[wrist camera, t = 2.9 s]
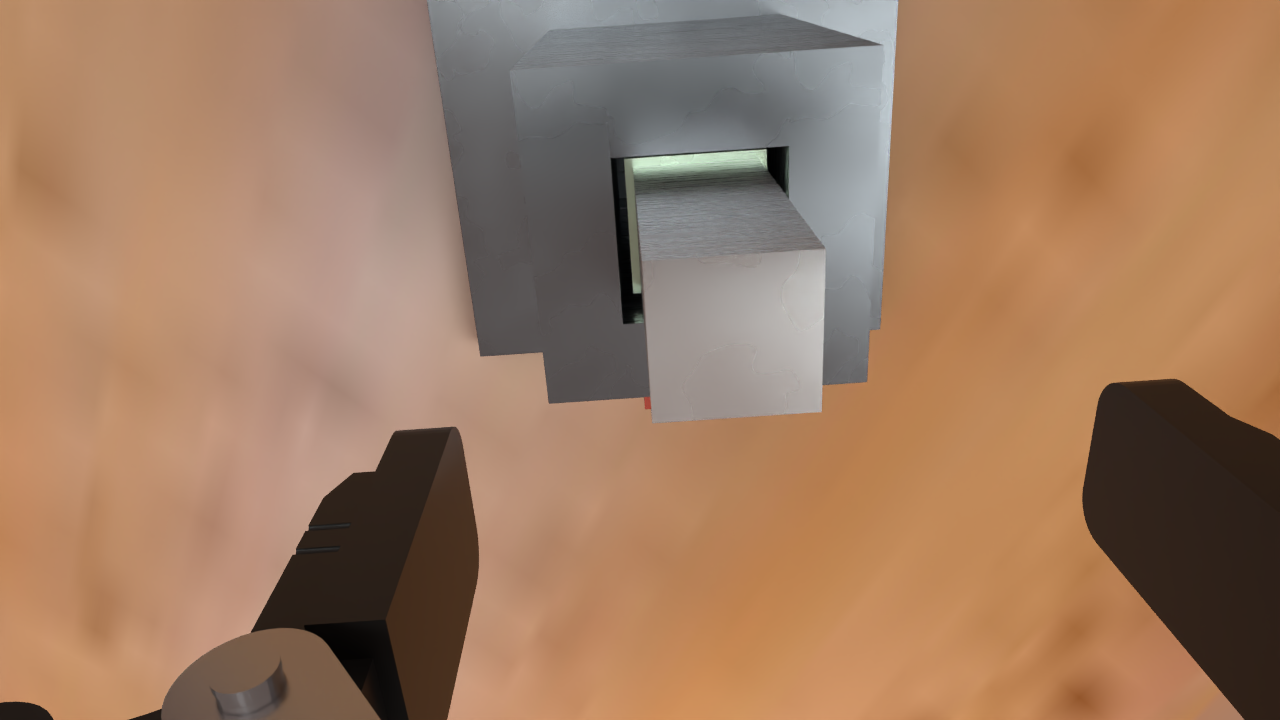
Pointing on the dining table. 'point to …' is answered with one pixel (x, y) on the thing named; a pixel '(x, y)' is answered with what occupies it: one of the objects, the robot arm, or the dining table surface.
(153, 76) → the dining table surface
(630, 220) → the column
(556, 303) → the stand housing
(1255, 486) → the robot arm
